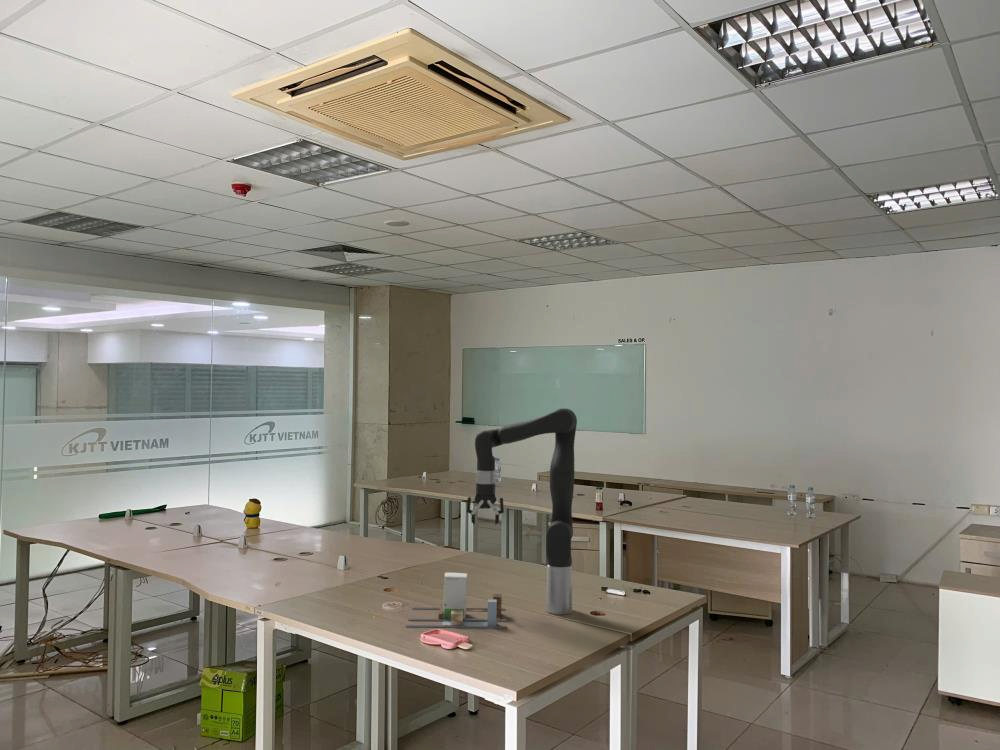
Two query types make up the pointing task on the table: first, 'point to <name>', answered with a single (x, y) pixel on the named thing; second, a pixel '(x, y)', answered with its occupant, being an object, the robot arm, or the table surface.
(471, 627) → the guide rails
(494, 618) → the pale blue bent piece
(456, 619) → the beech cube
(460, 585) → the skincare box
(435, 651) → the table surface
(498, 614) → the walnut frame
